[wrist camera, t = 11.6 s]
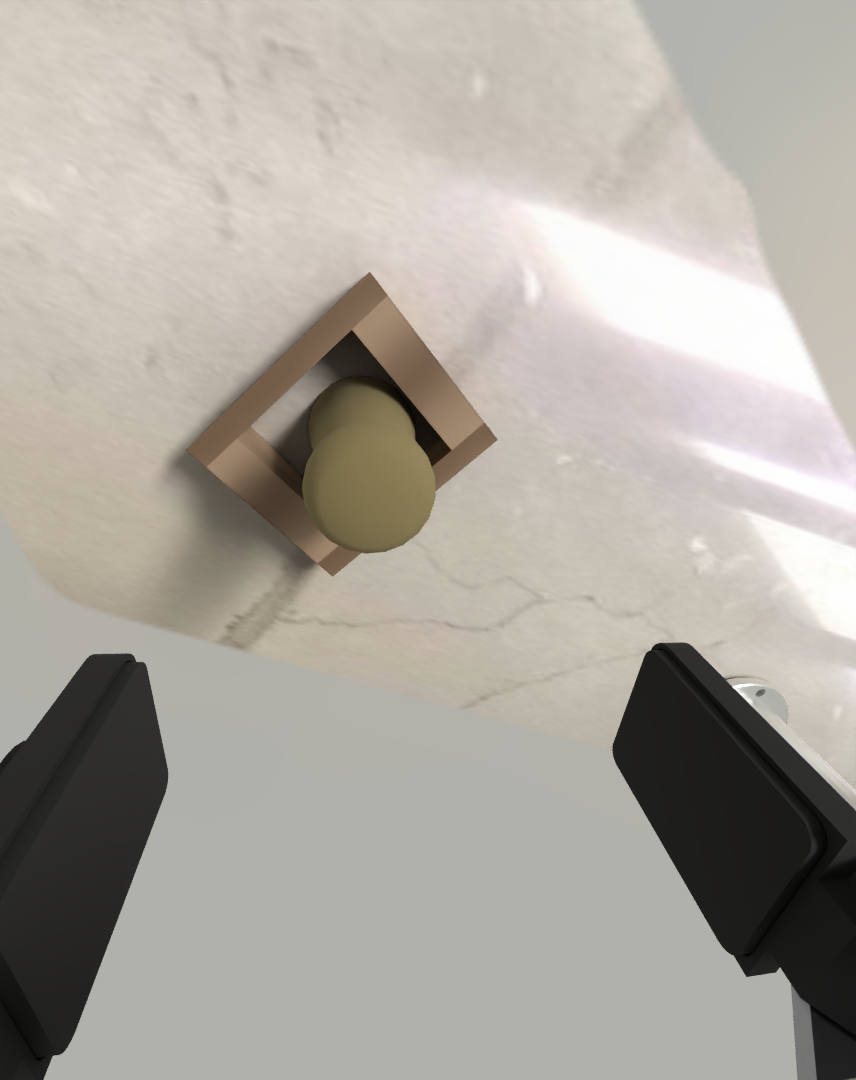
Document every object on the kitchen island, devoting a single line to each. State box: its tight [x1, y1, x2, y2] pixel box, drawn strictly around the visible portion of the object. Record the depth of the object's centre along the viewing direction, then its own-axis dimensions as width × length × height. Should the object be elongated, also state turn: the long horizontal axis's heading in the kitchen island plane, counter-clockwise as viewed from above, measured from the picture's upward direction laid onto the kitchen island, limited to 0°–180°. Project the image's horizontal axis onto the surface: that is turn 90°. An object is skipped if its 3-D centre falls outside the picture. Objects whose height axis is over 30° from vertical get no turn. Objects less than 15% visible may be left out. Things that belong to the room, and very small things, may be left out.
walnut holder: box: [186, 272, 497, 576], centre depth 26 cm, size 10×12×3 cm
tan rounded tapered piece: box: [302, 376, 435, 553], centre depth 22 cm, size 6×6×11 cm
